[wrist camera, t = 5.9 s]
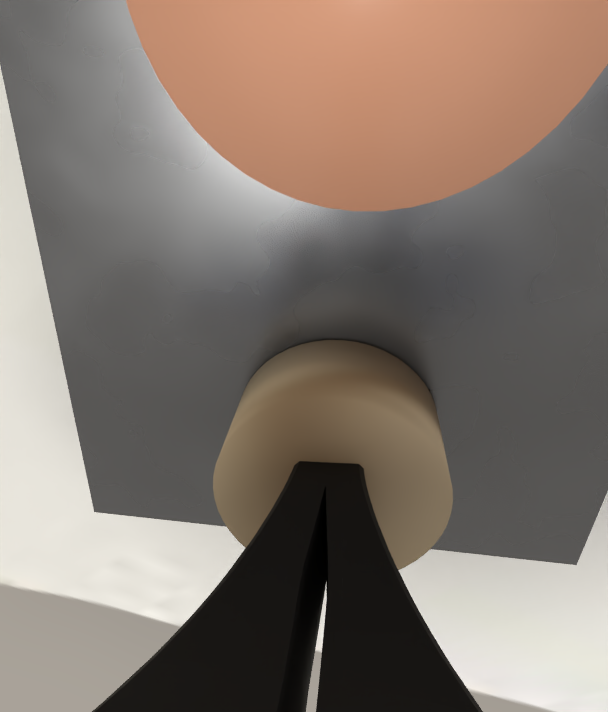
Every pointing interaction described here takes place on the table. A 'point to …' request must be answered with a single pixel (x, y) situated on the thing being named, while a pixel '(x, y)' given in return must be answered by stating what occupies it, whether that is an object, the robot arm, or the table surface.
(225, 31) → the knob middle
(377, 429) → the knob
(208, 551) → the table surface
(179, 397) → the knob panel
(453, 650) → the table surface
